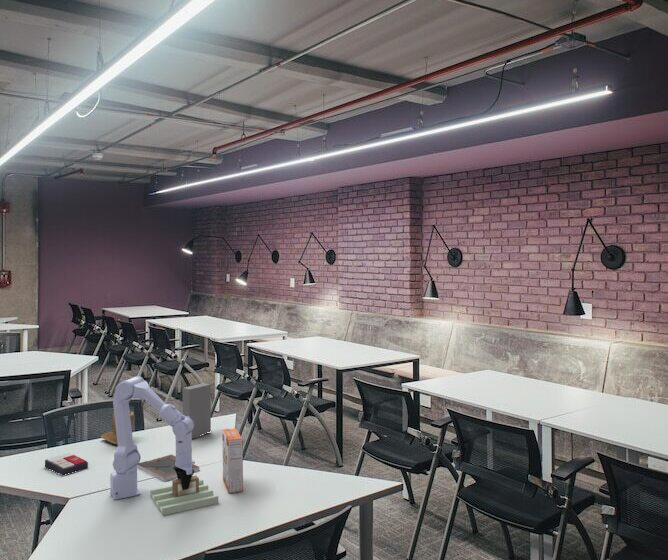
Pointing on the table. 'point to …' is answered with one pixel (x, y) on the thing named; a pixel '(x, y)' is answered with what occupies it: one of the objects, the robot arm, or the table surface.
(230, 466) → the cracker box
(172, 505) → the green slotted rack
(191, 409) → the upright grey panel
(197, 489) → the frame
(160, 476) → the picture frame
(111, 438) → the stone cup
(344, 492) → the table surface
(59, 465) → the red and beige box
